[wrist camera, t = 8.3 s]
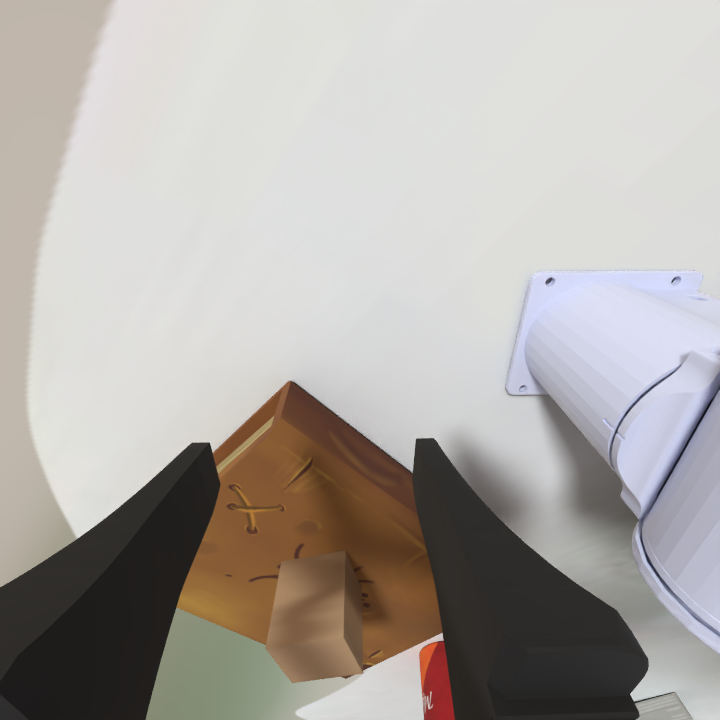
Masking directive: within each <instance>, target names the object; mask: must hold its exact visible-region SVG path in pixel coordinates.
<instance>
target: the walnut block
mask: <svg viewBox="0 0 720 720" xmlns="http://www.w3.org/2000/svg"><path fill="white" fill-rule="evenodd" d="M266 650H267V651H268V652H269V654H270V655H271V656H272V658H273V659H274V660H275V661H276V663H277V664H278V665H279V667H280V668H281V669H282V670H283V672H284V673H285V674H286V676H287V677H288V678H289V679H290V681H291V682H292V683H296V682H303V681H310V680H318V679H325V678H333V677H341V676H348V675H355V674H363V640H362V588H361V585H360V583H359V581H358V578H357V576H356V574H355V571H354V569H353V567H352V565H351V562H350V560H349V558H348V555H347V553H346V551H339V552H333V553H327V554H321V555H315V556H310V557H304V558H298V559H292V560H286V561H281V566H280V571H279V577H278V582H277V588H276V594H275V599H274V605H273V610H272V616H271V621H270V627H269V632H268V638H267V643H266Z"/></svg>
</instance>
